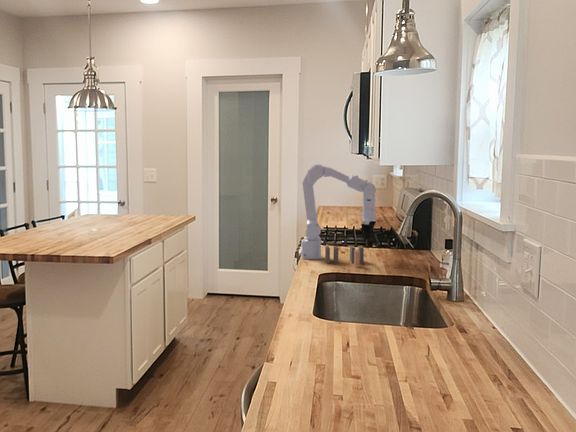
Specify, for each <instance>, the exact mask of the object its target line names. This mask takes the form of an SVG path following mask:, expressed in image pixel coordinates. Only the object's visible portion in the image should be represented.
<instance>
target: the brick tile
mask: <svg viewBox="0 0 576 432" xmlns="http://www.w3.org/2000/svg"><path fill="white" fill-rule="evenodd" d="M360 264H361V263H360V252H359V251H358V249H355V250H354V263H353V266H354V267H355V268H356V269H357V268H358V269H359V268H360Z"/></svg>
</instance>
